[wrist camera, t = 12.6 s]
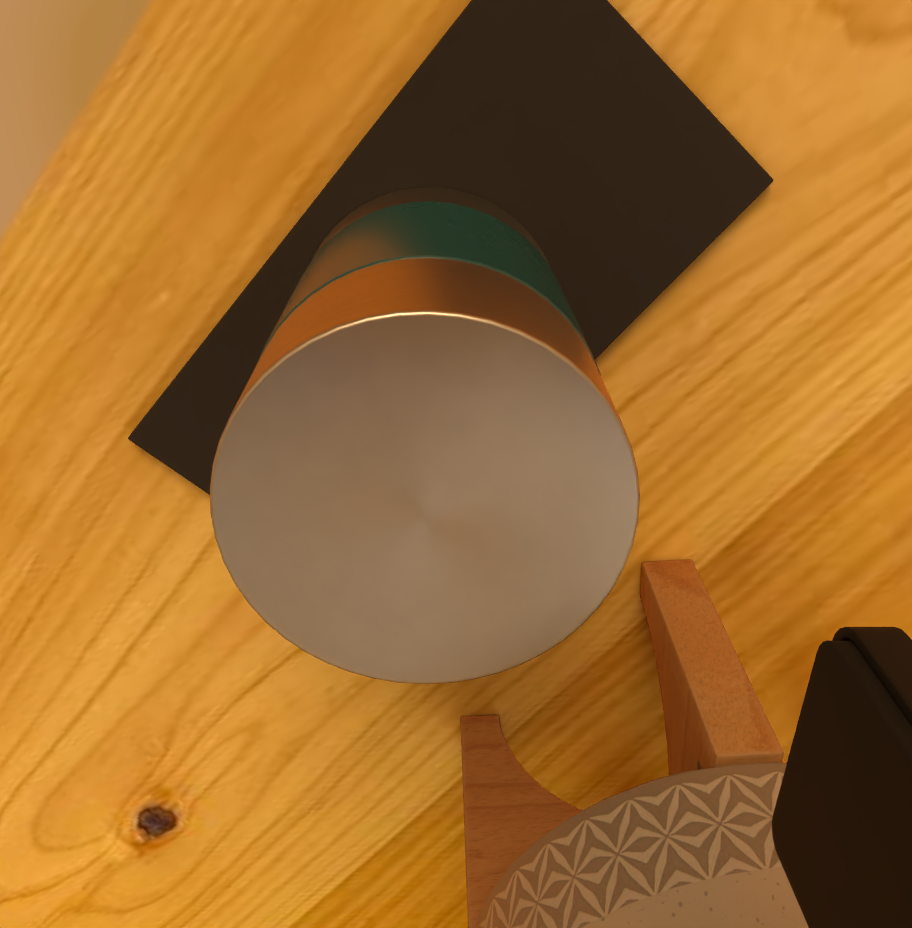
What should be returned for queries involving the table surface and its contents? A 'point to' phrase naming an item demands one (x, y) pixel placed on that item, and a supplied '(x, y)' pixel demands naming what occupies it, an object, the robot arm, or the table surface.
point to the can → (425, 451)
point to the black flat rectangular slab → (506, 186)
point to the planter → (641, 803)
